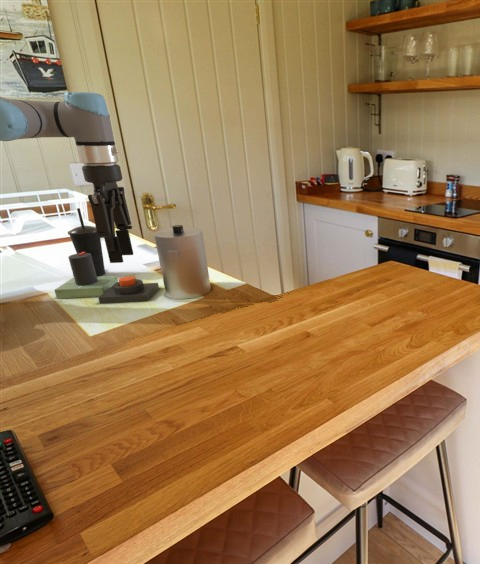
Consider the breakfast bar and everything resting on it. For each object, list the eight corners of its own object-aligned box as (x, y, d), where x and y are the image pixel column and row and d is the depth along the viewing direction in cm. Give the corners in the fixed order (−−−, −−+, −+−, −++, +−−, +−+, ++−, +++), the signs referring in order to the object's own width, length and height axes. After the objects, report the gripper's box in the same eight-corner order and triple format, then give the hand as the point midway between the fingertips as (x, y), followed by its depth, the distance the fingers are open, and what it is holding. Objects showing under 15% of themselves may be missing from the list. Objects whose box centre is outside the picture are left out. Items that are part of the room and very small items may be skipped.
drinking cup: (73, 278, 124) (54, 210, 117) (96, 269, 131) (79, 205, 124) (94, 280, 122) (76, 211, 115) (116, 272, 129) (101, 206, 122)
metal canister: (204, 302, 109) (192, 232, 102) (158, 305, 107) (143, 233, 100) (216, 283, 122) (206, 219, 115) (175, 285, 120) (162, 220, 113)
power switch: (117, 287, 108) (116, 281, 107) (123, 282, 111) (122, 276, 111) (133, 286, 109) (131, 280, 108) (138, 281, 112) (137, 275, 111)
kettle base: (100, 305, 106) (96, 290, 105) (115, 292, 114) (112, 278, 113) (147, 303, 108) (144, 288, 107) (159, 290, 116) (156, 276, 115)
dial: (92, 285, 111) (85, 256, 108) (72, 286, 110) (64, 257, 107) (101, 278, 115) (94, 251, 112) (81, 279, 114) (73, 252, 112)
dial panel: (57, 300, 109) (53, 289, 107) (75, 287, 117) (72, 277, 116) (104, 298, 111) (101, 287, 109) (119, 285, 119) (116, 275, 118)
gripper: (99, 168, 91) (123, 269, 100) (133, 160, 108) (151, 247, 117) (60, 168, 90) (87, 271, 98) (101, 160, 107) (121, 248, 115)
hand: (122, 258), depth 107 cm, fingers open, 6 cm apart
